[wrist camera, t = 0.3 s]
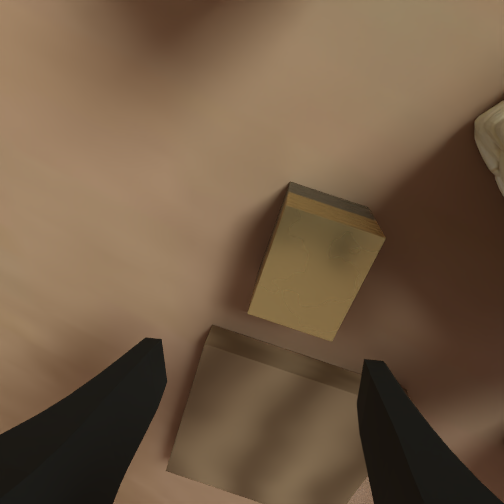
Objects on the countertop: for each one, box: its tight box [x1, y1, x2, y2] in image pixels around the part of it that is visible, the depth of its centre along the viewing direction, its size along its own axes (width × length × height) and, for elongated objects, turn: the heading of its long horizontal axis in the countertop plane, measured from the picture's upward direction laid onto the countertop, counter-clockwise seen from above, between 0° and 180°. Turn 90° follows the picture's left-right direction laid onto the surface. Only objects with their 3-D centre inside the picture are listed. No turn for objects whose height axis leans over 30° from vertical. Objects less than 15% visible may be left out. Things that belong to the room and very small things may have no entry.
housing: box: [247, 182, 386, 342], centre depth 18 cm, size 4×6×5 cm
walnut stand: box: [166, 325, 408, 504], centre depth 26 cm, size 14×14×2 cm
